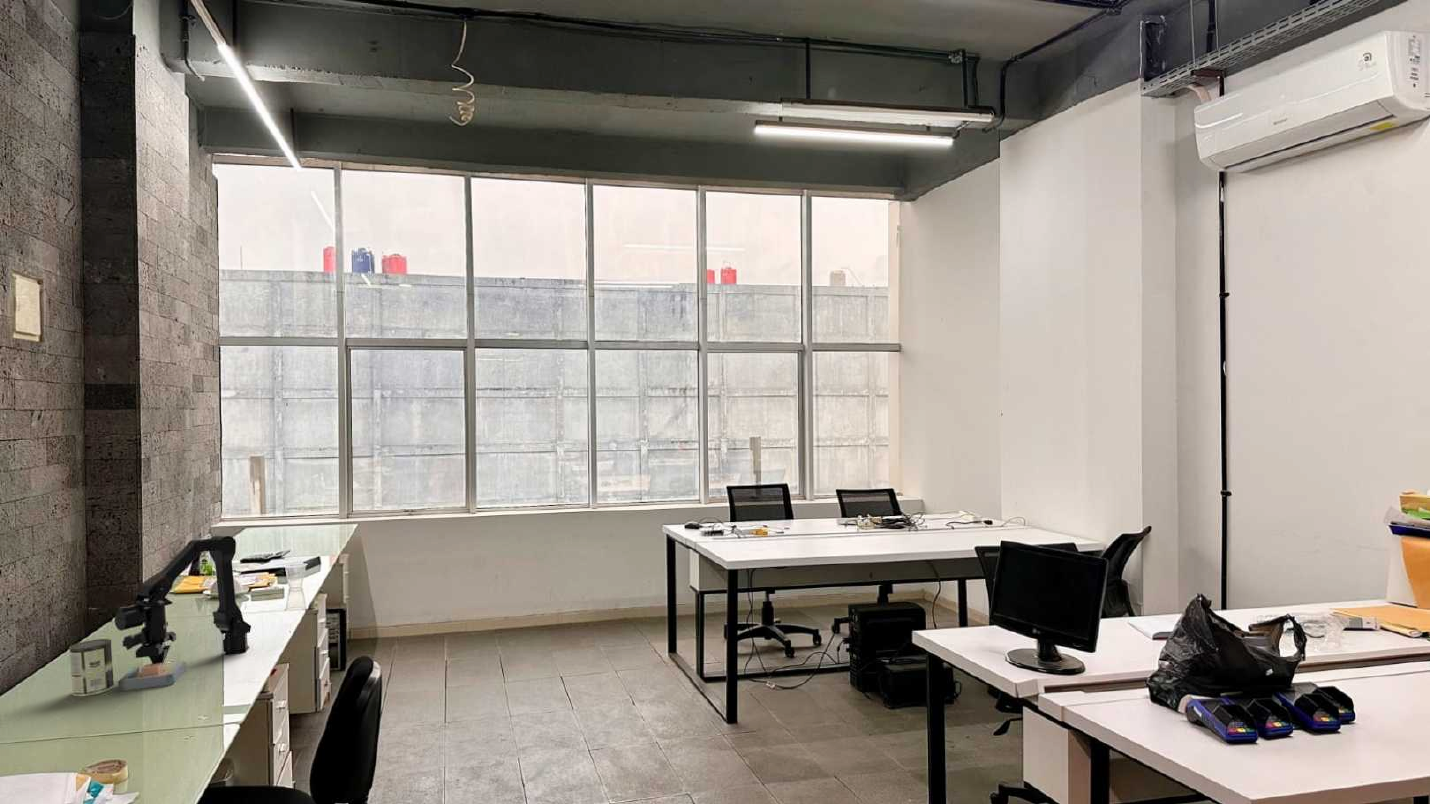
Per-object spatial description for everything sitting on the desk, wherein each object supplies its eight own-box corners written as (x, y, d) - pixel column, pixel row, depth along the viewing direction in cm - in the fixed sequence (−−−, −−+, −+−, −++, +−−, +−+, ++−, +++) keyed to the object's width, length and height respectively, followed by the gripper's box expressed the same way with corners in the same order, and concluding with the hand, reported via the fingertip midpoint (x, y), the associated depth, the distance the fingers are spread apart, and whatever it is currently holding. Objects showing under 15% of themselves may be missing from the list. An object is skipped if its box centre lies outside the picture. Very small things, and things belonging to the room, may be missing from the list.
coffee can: (98, 683, 266) (95, 637, 266) (122, 685, 263) (119, 639, 263) (63, 695, 257) (60, 647, 257) (88, 697, 253) (85, 649, 253)
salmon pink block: (162, 672, 268) (162, 662, 268) (158, 676, 264) (157, 666, 264) (146, 674, 267) (145, 664, 267) (141, 678, 263) (141, 668, 263)
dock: (185, 670, 275) (185, 661, 275) (173, 684, 262) (172, 674, 262) (134, 677, 271) (133, 667, 271) (118, 691, 258) (117, 681, 258)
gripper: (135, 617, 278) (138, 666, 278) (114, 632, 260) (117, 684, 260) (175, 613, 281) (178, 661, 281) (156, 628, 263) (160, 679, 263)
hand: (158, 671), depth 271 cm, fingers closed
